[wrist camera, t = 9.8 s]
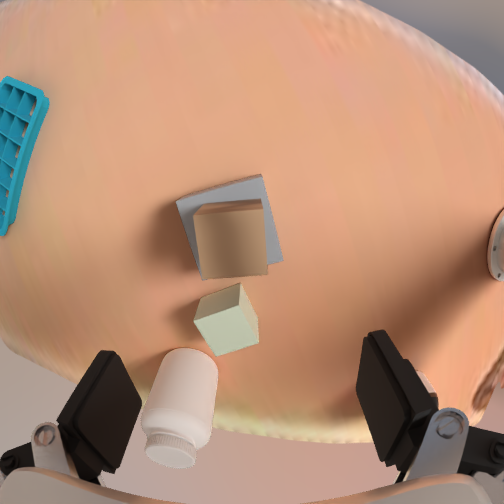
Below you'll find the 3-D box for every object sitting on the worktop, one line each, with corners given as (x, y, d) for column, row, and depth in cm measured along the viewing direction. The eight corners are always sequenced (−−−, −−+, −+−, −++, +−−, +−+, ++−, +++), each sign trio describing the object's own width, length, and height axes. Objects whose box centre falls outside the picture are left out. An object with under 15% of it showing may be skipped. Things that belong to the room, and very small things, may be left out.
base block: (260, 173, 27) (262, 176, 23) (279, 246, 30) (283, 260, 26) (185, 195, 28) (175, 201, 24) (208, 264, 31) (202, 280, 27)
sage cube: (240, 282, 31) (239, 305, 26) (257, 317, 32) (259, 342, 28) (200, 297, 32) (193, 321, 27) (219, 330, 33) (215, 356, 28)
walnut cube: (260, 198, 24) (263, 209, 19) (264, 252, 26) (267, 274, 21) (204, 203, 24) (193, 215, 20) (211, 256, 26) (202, 279, 21)
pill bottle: (222, 351, 34) (210, 450, 20) (215, 390, 37) (205, 478, 23) (162, 339, 34) (126, 430, 19) (162, 380, 36) (136, 463, 22)
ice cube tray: (60, 95, 23) (46, 92, 20) (17, 233, 29) (4, 239, 26) (16, 77, 21) (3, 74, 18) (-20, 200, 27) (-32, 204, 24)
